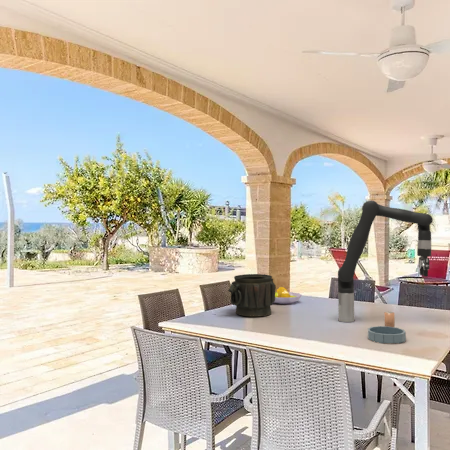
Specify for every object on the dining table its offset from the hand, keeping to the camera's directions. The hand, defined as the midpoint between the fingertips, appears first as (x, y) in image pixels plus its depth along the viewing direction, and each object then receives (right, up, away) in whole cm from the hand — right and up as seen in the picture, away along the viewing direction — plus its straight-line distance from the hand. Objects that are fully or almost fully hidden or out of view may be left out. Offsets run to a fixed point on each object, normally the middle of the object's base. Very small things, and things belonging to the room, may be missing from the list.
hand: (423, 275), depth 265 cm
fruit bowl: (-73, -29, +75) cm, 109 cm away
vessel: (-97, -30, +35) cm, 108 cm away
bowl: (-33, -29, -32) cm, 55 cm away
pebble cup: (-26, -29, -16) cm, 41 cm away
